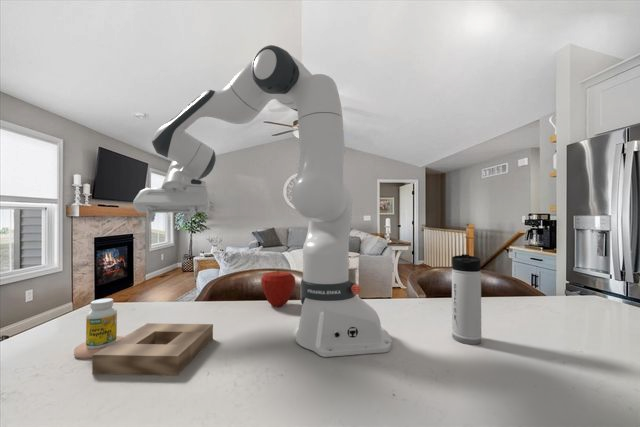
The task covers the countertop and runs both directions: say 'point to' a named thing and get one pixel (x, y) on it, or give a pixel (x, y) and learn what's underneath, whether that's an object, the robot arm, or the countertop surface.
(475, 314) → the travel mug
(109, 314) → the supplement bottle
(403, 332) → the countertop surface
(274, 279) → the red tapered strawberry shape
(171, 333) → the frame
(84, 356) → the peach round disc
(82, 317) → the countertop surface
